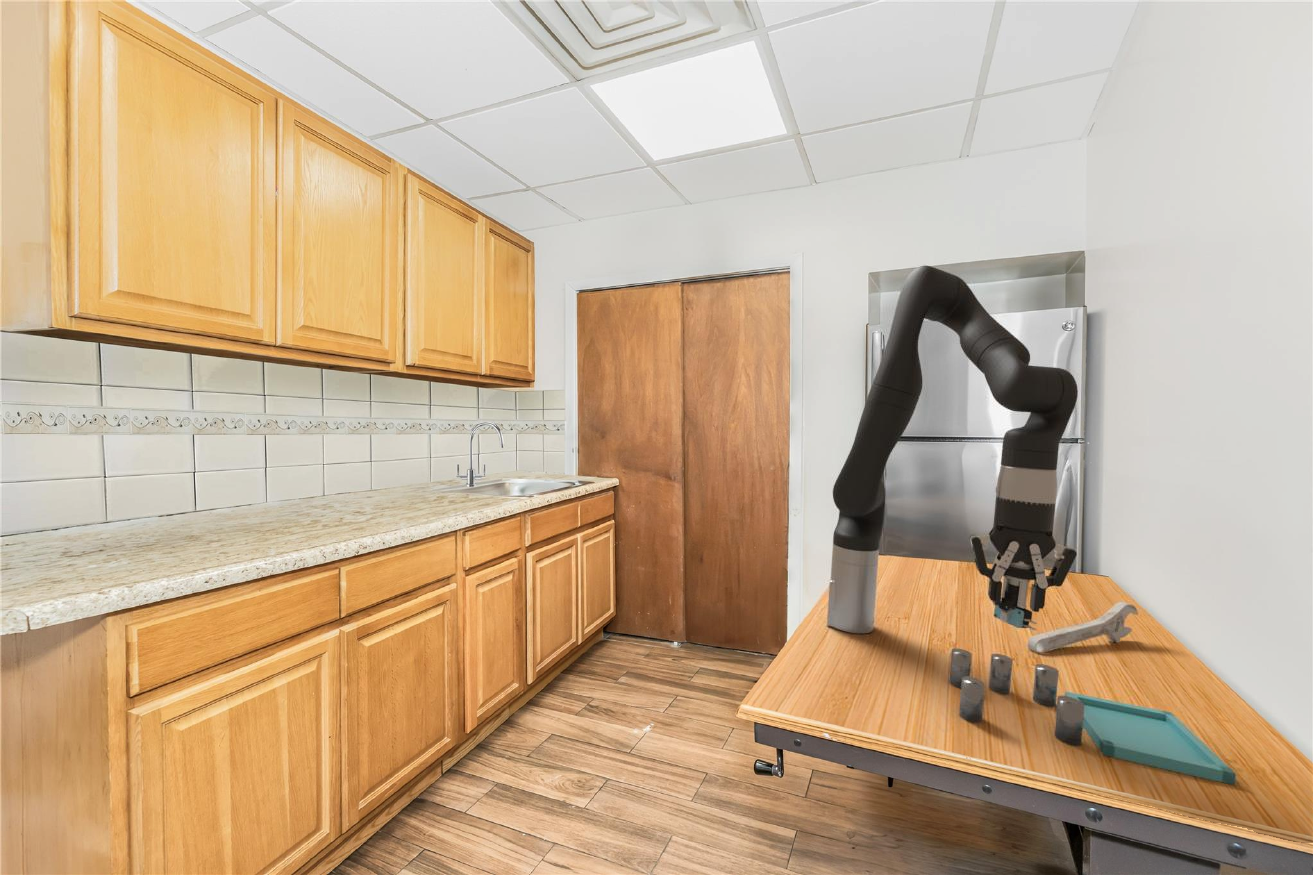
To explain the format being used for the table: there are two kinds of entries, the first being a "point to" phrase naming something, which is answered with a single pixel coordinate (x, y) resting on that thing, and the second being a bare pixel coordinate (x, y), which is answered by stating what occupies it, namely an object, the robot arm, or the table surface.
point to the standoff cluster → (1000, 682)
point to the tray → (1149, 738)
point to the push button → (1015, 596)
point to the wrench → (1086, 630)
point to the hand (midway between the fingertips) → (1015, 606)
